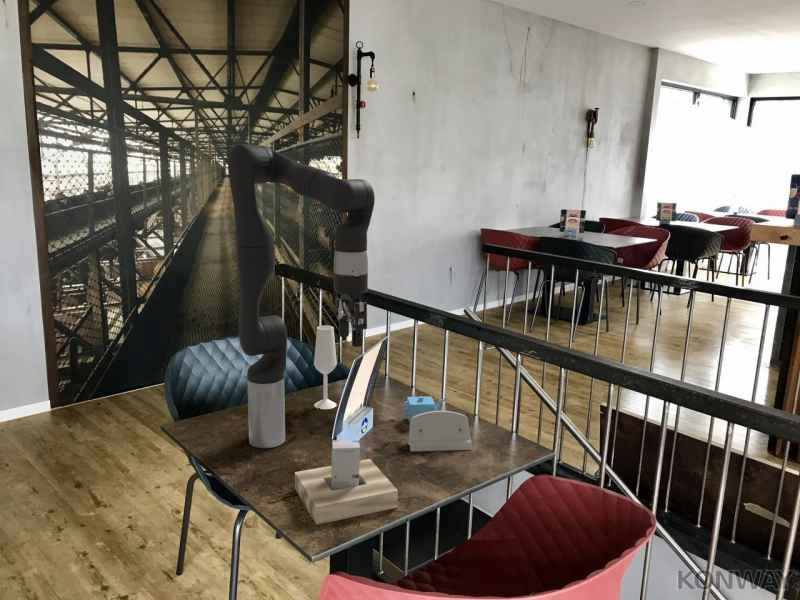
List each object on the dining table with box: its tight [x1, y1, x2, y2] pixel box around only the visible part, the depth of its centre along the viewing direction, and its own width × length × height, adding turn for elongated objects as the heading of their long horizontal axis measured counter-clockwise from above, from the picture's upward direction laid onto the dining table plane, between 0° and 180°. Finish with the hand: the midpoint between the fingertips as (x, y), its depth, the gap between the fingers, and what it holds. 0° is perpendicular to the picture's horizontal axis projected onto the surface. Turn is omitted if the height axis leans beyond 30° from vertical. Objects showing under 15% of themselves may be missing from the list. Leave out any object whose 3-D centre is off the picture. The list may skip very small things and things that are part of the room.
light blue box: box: [402, 395, 446, 424], centre depth 185 cm, size 12×6×8 cm, turn 96°
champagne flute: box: [313, 325, 338, 410], centre depth 194 cm, size 7×7×24 cm
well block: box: [294, 458, 399, 526], centre depth 143 cm, size 16×18×4 cm
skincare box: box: [330, 439, 361, 491], centre depth 142 cm, size 6×4×12 cm
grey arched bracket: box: [406, 410, 473, 452], centre depth 171 cm, size 17×5×10 cm, turn 97°
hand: (350, 341), depth 149 cm, fingers open, 8 cm apart
